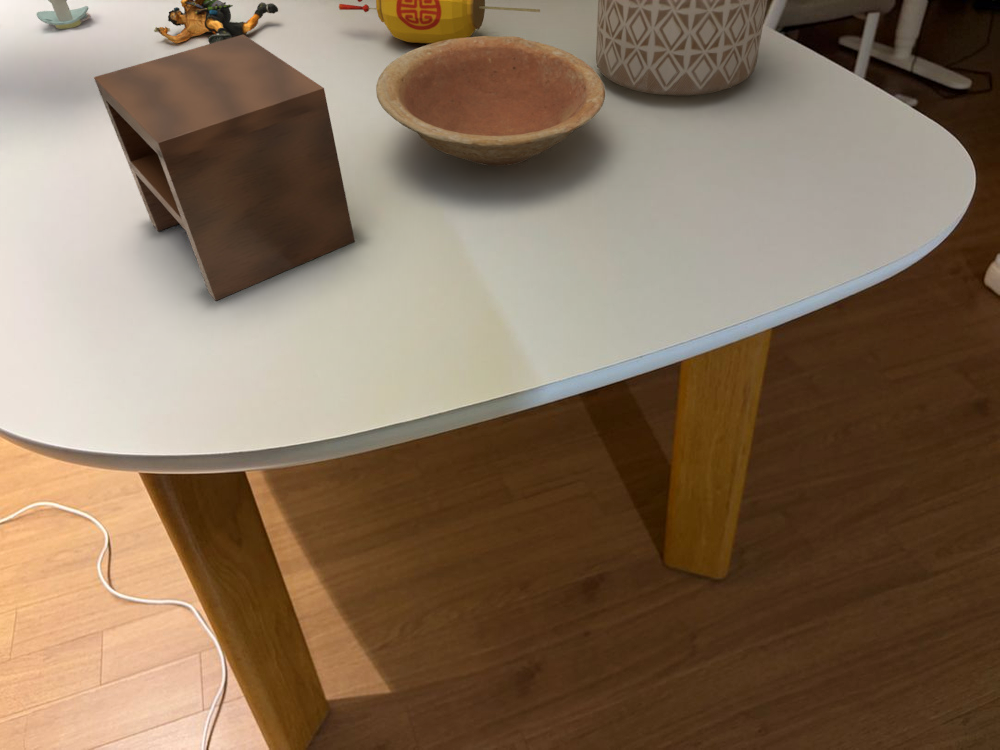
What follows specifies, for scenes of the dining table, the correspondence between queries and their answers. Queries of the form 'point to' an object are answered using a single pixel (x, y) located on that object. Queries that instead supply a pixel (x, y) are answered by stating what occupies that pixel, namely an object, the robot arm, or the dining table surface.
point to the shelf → (232, 158)
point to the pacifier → (63, 15)
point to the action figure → (210, 20)
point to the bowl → (490, 96)
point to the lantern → (430, 18)
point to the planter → (678, 43)
